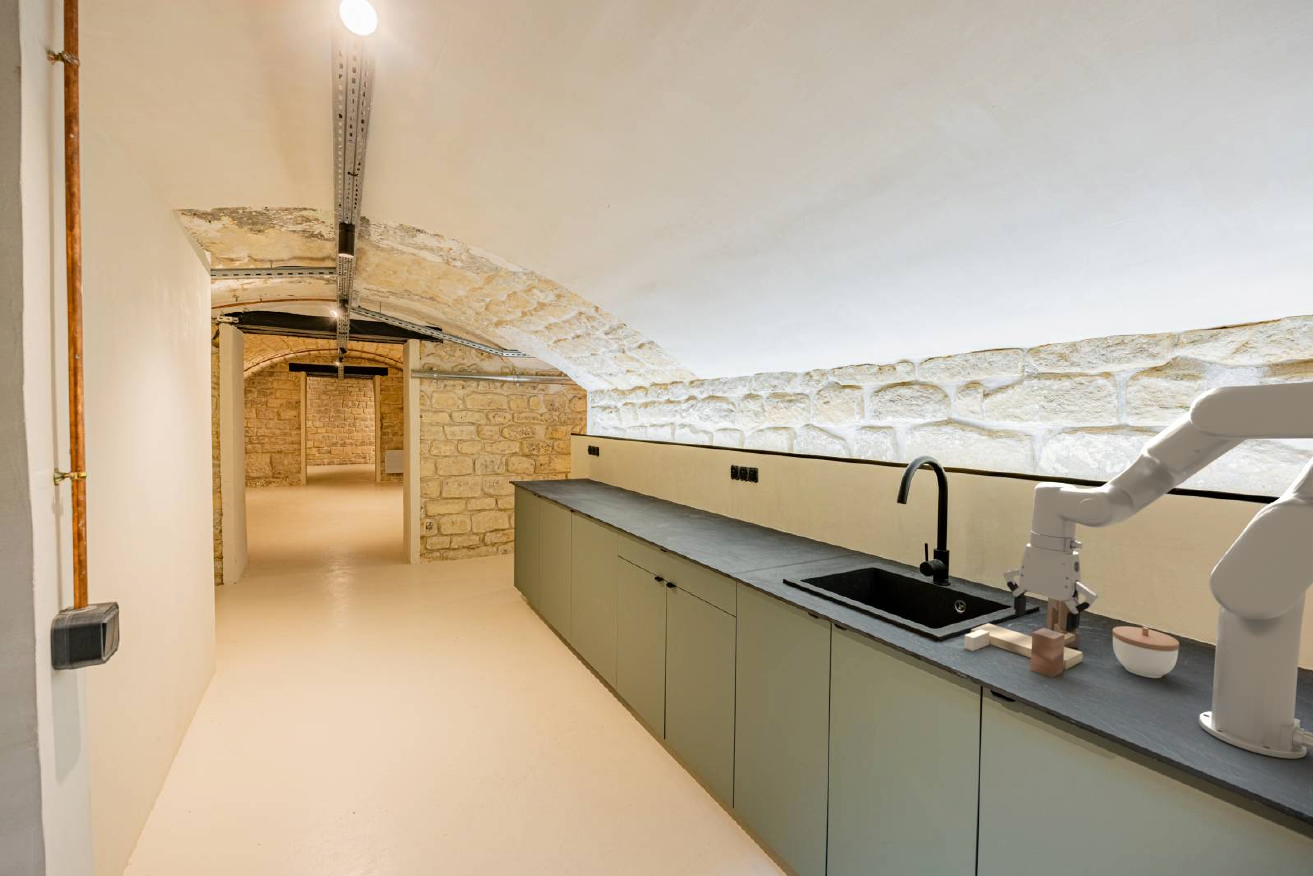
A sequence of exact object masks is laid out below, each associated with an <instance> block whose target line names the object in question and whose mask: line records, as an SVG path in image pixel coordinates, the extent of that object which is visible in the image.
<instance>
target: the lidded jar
mask: <svg viewBox="0 0 1313 876" xmlns="http://www.w3.org/2000/svg"><path fill="white" fill-rule="evenodd" d="M1111 633H1112V647H1113V653H1114V654H1115V657H1116V659H1117V660H1118V662H1119V663H1120V664H1121V665H1122V666H1124V669H1125V670H1126V671H1128V672H1129V673H1131V674H1134V675H1137V676H1140V677H1144V678H1150V679H1151V678H1152V679H1161V678H1163V676H1164V675H1166V674H1168V673H1170V672H1171V671H1173V669H1174V668H1175V667H1176V664H1177V661H1178V656H1179V648H1180V642H1179V641H1178V640H1177V639H1176V638H1174V636H1173V637H1172V636H1171V635H1168V634H1167V633H1162V632H1159V631H1156V630H1152V629H1149V628H1148V627H1146V626H1144V627H1143V626H1142V627H1137V626H1136V627H1135V626H1126V625H1125V626H1121V625H1120V626H1115V627H1113V628H1112V632H1111Z"/></svg>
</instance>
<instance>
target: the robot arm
mask: <svg viewBox="0 0 1313 876" xmlns="http://www.w3.org/2000/svg"><path fill="white" fill-rule="evenodd" d="M1272 439H1273V440H1279V439H1280V440H1281V439H1282V440H1285V439H1286V440H1287V439H1290V440H1291V439H1297V440H1298V439H1313V381H1304V382H1302V381H1301V382H1289V383H1288V382H1287V383H1274V384H1256V385H1239V386H1236V385H1235V386H1234V385H1233V386H1232V385H1230V386H1220V387H1214V388H1211V389H1209V390H1207V391H1204V392H1203V393H1202V394H1200V395H1198V397H1196V399H1194V400H1193V402H1192V403H1191V405H1190V408H1189V411H1188V412H1187V413H1185V414H1184V415H1182V416H1181V417H1180V418H1179V419H1177V420H1176V421H1175V422H1173V423H1172V424H1171V425H1169V426H1168V427H1167V428H1165V429H1164V430H1162V431H1161V432H1160V433H1158V434H1157V435H1155V436H1154V437H1153V438H1151V439H1149V441H1147V442H1146V443H1145V444H1144V445H1143V447H1142V449H1141V452H1140V453H1139V456H1138V457H1137V458H1136V460H1134V461H1133V463H1131V464H1130V465H1129V466H1128V467H1127V468H1126V469H1124V470H1123V471H1122V472H1121V473H1119V474H1118V475H1116V476H1115V477H1113V478H1112V479H1111V480H1109V481H1108V482H1106V483H1105V484H1103V485H1102V486H1098V487H1093V488H1077V487H1075V485H1072V484H1066V483H1060V482H1050V481H1048V482H1039V483H1038V484H1036V486H1035V488H1034V495H1033V504H1032V505H1033V508H1032V517H1031V518H1032V519H1031V529H1030V539H1029V540H1030V542H1029V543H1027V544H1026V546H1025V549H1024V552H1023V555H1022V559H1021V564H1020V567H1019V569H1018V568H1017V569H1014V570H1013V569H1012V570H1008V571H1005V572H1003V573H1002V574H1003V578H1004V580H1005V582H1006V585H1007V588H1009V590H1010V591H1011V593H1012V596H1013V597H1014V601H1013V610H1015V611H1014V614H1015V616H1017V617H1018V616H1019V617H1020V616H1023V615H1025V614H1026V609H1027V595H1026V593H1028V592H1029V593H1032V594H1034V595H1039V596H1042V597H1046V598H1048V597H1049V598H1052V599H1056V600H1060V601H1064V602H1065V603H1066V605H1067V606H1068V608H1069V609H1070V612H1068V613H1067V623H1066V630H1067V631H1068V632H1072V631H1074V630H1076V629H1077V630H1078V629H1079V627H1080V621H1081V613H1082V612H1084V611H1085V610H1086V611H1087V609H1089V608H1092V605H1094V603H1096V601H1098V599H1099V595H1098V594H1097V593H1095V592H1094V591H1092V590H1091V589H1090V588H1088V587H1087V586H1085V585H1084V584H1082V582H1081V580H1082V579H1081V578H1082V577H1081V576H1082V575H1081V574H1082V573H1081V562H1080V561H1081V560H1080V555H1079V554H1080V553H1079V552H1078V551H1075V550H1076V549H1079V550H1082V548H1083V543H1082V542H1080V541H1078V540H1077V537H1076V529H1077V524H1079V525H1082V526H1085V527H1090V528H1097V529H1098V528H1099V529H1100V528H1105V527H1108V526H1111V525H1116V524H1118V523H1121V522H1124V521H1126V520H1128V519H1130V518H1131V517H1133V516H1134V515H1136V514H1137V513H1140V511H1142V510H1143V509H1145V508H1146V507H1148V506H1150V505H1151V504H1152V503H1154V502H1156V501H1157V500H1159V499H1160V498H1161V497H1163V496H1165V495H1166V494H1167V493H1169V492H1170V491H1171V490H1172V489H1175V488H1176V487H1178V486H1179V485H1181V484H1183V483H1184V482H1186V481H1187V480H1188V479H1190V478H1191V477H1192V476H1194V475H1196V474H1197V473H1198V472H1199V471H1201V470H1203V469H1204V468H1206V467H1207V466H1209V465H1210V464H1211V463H1214V461H1216V460H1217V459H1219V458H1220V457H1222V456H1223V455H1225V454H1226V453H1228V452H1229V451H1231V450H1234V448H1236V447H1238V446H1239V445H1241V444H1242V443H1243V442H1245V441H1246V440H1272ZM1251 519H1252V520H1250V522H1249V523H1248V524H1247V525H1246V527H1245V528H1244V529H1243V531H1241V533H1240V534H1239V536H1238V537H1237V538H1236V539H1235V541H1234V543H1232V545H1231V546H1230V548H1228V550H1227V551H1226V552H1225V554H1224V555H1223V556H1222V558H1221V559H1220V560H1219V562H1217V564H1216V565H1215V566H1214V568H1213V570H1212V571H1211V573H1210V575H1209V584H1208V585H1209V590H1210V593H1211V595H1212V597H1213V598H1214V600H1215V601H1216V603H1218V604H1219V608H1218V609H1219V610H1218V616H1217V617H1218V618H1217V628H1216V629H1217V631H1216V637H1215V638H1216V640H1215V641H1216V642H1215V654H1214V672H1213V686H1212V698H1211V699H1212V701H1211V702H1212V703H1211V711H1210V710H1209V711H1204V712H1202V713H1200V714H1199V715H1198V724H1199V726H1200V727H1201V728H1202V729H1203V730H1205V732H1207V733H1209V734H1210V735H1212V736H1213V737H1215V738H1217V739H1218V740H1220V741H1223V742H1226V743H1228V744H1230V745H1233V746H1235V747H1238V748H1240V749H1243V750H1245V751H1250V752H1253V753H1256V754H1260V755H1264V756H1269V757H1275V758H1279V759H1280V758H1281V759H1299V758H1304V757H1305V756H1307V753H1308V750H1307V748H1308V749H1311V750H1313V733H1312V732H1308V731H1305V728H1302V727H1300V725H1301V720H1300V719H1298V718H1295V712H1296V710H1295V709H1296V700H1297V699H1296V697H1297V682H1298V669H1299V656H1300V649H1301V635H1302V628H1303V627H1302V626H1303V618H1304V610H1305V603H1306V595H1307V594H1306V593H1307V590H1308V589H1310V587H1311V586H1312V585H1313V457H1312V458H1310V460H1309V461H1308V463H1306V464H1305V466H1304V467H1303V469H1302V471H1301V472H1300V474H1299V475H1298V476H1297V477H1296V479H1295V480H1294V481H1293V483H1292V484H1291V485H1290V486H1289V487H1288V489H1286V491H1284V493H1283V494H1282V495H1281V496H1280V497H1279V498H1278V499H1277V500H1275V501H1273V502H1270V503H1269V504H1267V505H1266V506H1264V507H1263V508H1262V509H1261V510H1260V511H1258V512H1257V514H1256V515H1255V516H1254V517H1253V518H1251ZM1017 576H1018V584H1017V582H1016V581H1015V578H1014V577H1017ZM1081 595H1083V596H1084V597H1085V600H1084V601H1083V602H1081V603H1080V601H1078V600H1077V598H1078V597H1080V596H1081Z"/></svg>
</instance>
